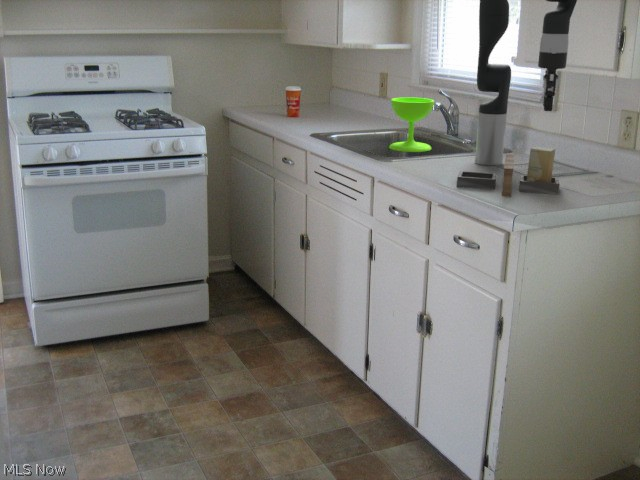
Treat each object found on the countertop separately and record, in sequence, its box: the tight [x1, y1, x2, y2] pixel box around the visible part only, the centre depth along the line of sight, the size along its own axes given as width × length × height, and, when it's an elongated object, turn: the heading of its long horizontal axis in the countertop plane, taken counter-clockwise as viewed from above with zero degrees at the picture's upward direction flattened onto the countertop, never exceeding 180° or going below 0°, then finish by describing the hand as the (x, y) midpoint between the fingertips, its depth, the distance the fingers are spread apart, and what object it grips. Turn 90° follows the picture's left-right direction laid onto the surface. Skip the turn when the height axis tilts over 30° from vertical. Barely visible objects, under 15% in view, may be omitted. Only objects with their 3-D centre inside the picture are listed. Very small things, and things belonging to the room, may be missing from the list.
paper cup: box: [284, 85, 302, 118], centre depth 354 cm, size 8×8×14 cm
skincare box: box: [527, 146, 556, 183], centre depth 217 cm, size 6×4×12 cm
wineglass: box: [388, 97, 435, 153], centre depth 277 cm, size 16×16×18 cm
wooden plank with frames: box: [456, 152, 560, 198], centre depth 219 cm, size 24×29×8 cm
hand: (547, 109), depth 211 cm, fingers open, 8 cm apart
